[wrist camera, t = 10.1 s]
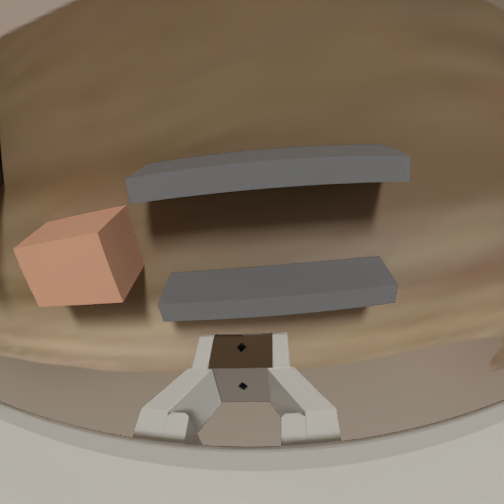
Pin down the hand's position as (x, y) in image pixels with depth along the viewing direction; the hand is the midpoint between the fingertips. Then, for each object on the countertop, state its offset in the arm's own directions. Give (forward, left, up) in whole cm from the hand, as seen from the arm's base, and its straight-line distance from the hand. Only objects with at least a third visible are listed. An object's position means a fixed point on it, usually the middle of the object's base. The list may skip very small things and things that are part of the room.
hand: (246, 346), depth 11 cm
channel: (-1, 0, -12) cm, 12 cm away
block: (+13, +1, -13) cm, 18 cm away
